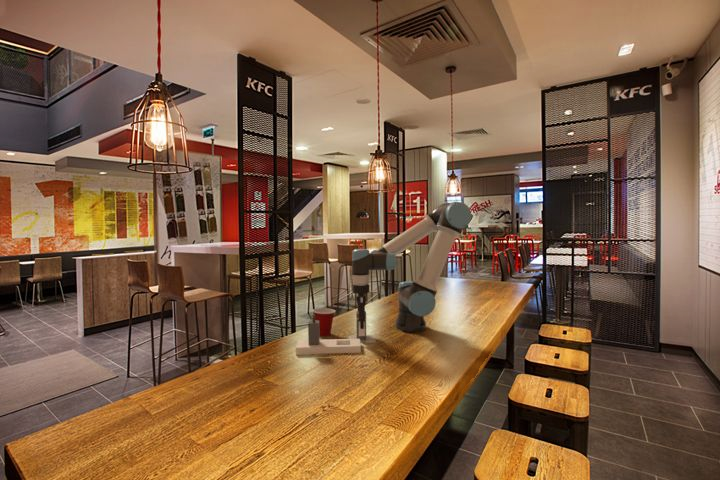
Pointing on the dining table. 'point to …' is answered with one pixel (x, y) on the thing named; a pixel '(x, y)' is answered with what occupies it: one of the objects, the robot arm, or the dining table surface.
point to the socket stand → (325, 343)
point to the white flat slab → (368, 340)
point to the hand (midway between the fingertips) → (361, 331)
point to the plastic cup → (324, 320)
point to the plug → (358, 326)
